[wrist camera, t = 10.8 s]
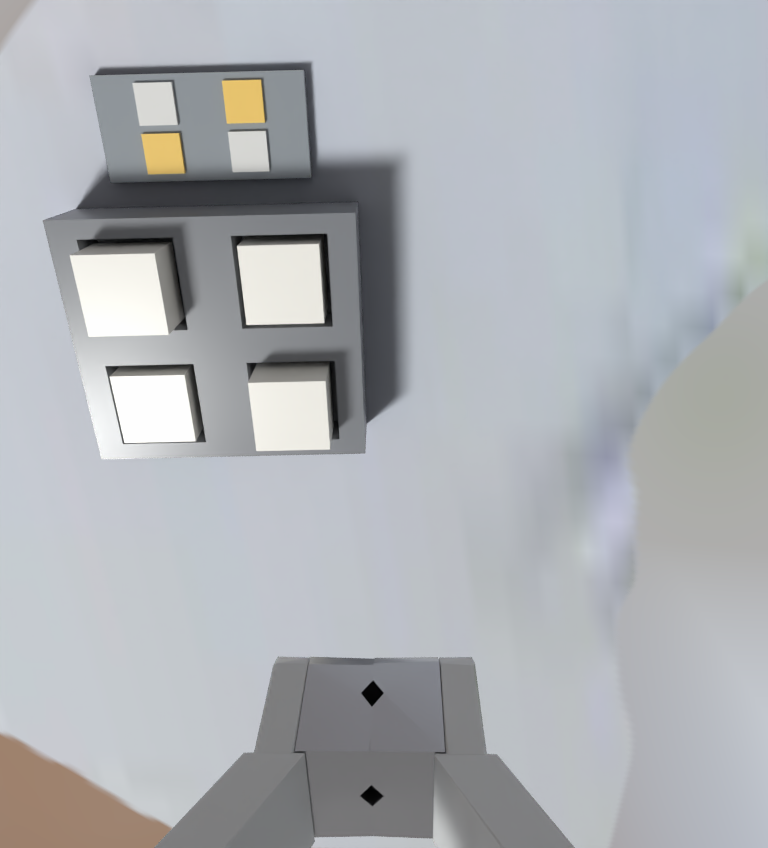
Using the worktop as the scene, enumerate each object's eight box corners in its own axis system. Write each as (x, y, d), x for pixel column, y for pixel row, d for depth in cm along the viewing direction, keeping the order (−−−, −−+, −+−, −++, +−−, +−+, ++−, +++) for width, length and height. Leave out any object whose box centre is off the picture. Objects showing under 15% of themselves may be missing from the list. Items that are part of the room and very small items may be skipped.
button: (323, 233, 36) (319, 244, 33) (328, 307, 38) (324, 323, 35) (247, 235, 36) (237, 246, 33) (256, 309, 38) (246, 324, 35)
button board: (357, 201, 37) (355, 212, 33) (366, 424, 43) (365, 453, 40) (75, 208, 37) (42, 220, 33) (124, 429, 43) (101, 459, 40)
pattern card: (304, 70, 34) (303, 69, 33) (311, 176, 36) (310, 178, 36) (94, 75, 34) (87, 75, 33) (114, 181, 36) (109, 183, 36)
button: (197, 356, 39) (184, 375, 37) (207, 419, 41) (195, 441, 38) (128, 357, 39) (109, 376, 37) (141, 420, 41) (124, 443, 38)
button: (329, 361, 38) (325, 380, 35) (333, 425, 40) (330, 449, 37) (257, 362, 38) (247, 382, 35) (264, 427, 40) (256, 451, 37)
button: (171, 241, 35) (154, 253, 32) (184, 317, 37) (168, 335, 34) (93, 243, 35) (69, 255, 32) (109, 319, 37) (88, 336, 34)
